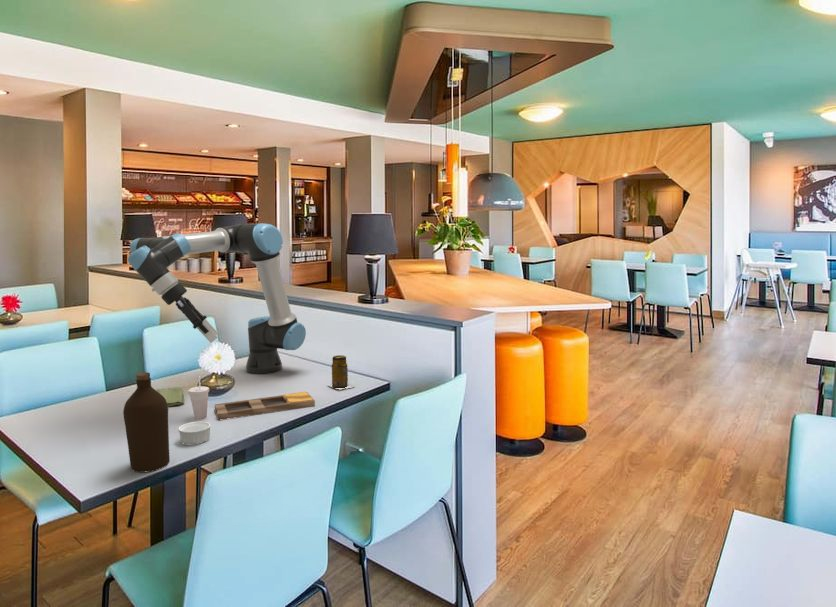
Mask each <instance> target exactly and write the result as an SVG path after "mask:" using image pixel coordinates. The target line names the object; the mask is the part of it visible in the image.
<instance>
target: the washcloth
mask: <svg viewBox="0 0 836 607" xmlns="http://www.w3.org/2000/svg"><path fill="white" fill-rule="evenodd" d="M155 390H156V391H157V392H158V393H160V394H161V395H162V396H163V397H164V398H165V399H166V402H167V404H168V408H169V407H174V406H183V405H185V395H184V390H183V388H182V387H171V388H163V389H159V388H158V389H155Z"/></svg>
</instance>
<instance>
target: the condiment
mask: <svg viewBox="0 0 836 607" xmlns="http://www.w3.org/2000/svg"><path fill="white" fill-rule="evenodd" d="M348 369H349V368H348V363H347V356H345V355H342V354H341V355H339V354H338V355H334V356H333V357H332V364H331V385H332V387H333V388H332V389H334V390H336V391H341V390H339V389H335V388H345V387H347V386H348V385H349V384H348V382H349V379H348V376H349V375H348V374H349V373H348Z"/></svg>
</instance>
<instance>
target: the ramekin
mask: <svg viewBox="0 0 836 607" xmlns="http://www.w3.org/2000/svg"><path fill="white" fill-rule="evenodd" d="M177 430H178V433H179V438H180V442H181V443H182V444H183V443H184V444H183V445H186V444H196V445H198V444H197V443H201V442H204V441H206V440H207V441H209V439H210V436H211V433H210V432H211V423H209V422H208V421H207V422H206V421H191V422H187V423H184V424H181V425H180V426H179V427H178V429H177ZM207 441H206V442H207ZM204 443H205V442H204ZM201 444H202V443H201Z"/></svg>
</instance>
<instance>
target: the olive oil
mask: <svg viewBox="0 0 836 607" xmlns="http://www.w3.org/2000/svg"><path fill="white" fill-rule="evenodd" d="M150 376H151V373H150V372H147V371H146V372H145V371H143V372H139V373H136V380H135V381H136V389H135V390H134V392H132V394H131V395H130V396H129V397H128V398H127V400H126V401H125V404H124V406H123V412H122V414H123V421H124V426H125V434H126V440H127V441H126V442H127V448H128V458H129V465H130V469H131V470H132V471H133V470H134V471H133V472H136V471H137V473H146V472H145V471H149V472H153V471H152V470H154V471H156V469H158V470H160V469H162V467H163V468H165V467H167V465H169V463H170V442H169V441H170V440H169V439H170V436H169V435H170V434H169V426H170V425H169V407H168V404H167V402H166V399H165V398H164V397H163V396H162V395H161V394H160V393H158V392H157V391H156V389H155V388H154V387H152V378H151V377H150ZM164 466H165V467H164ZM159 468H160V469H159Z"/></svg>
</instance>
